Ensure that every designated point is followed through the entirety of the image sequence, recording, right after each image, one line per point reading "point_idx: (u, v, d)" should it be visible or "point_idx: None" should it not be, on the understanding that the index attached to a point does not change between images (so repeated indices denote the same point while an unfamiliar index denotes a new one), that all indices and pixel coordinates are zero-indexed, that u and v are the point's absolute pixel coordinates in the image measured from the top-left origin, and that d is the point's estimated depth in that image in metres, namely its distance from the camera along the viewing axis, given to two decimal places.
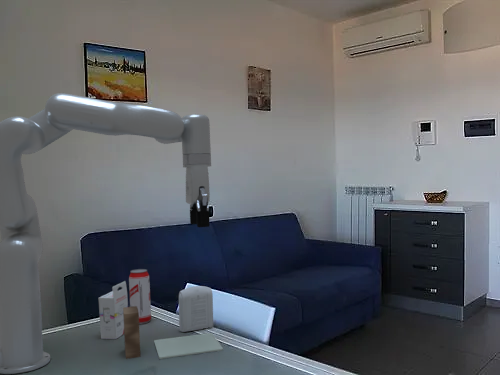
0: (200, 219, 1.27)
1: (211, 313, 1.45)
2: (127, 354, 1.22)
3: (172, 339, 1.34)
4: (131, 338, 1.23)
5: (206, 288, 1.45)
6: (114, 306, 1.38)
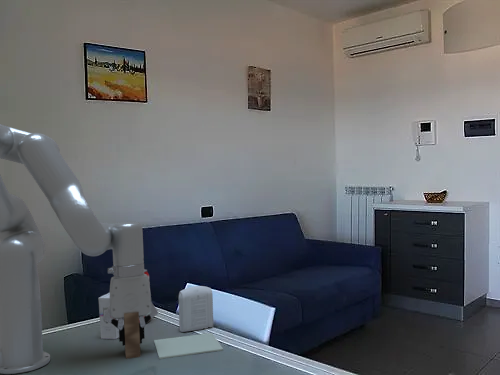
0: (142, 334, 1.26)
1: (211, 313, 1.45)
2: (127, 354, 1.22)
3: (172, 339, 1.34)
4: (131, 338, 1.23)
5: (206, 288, 1.45)
6: None
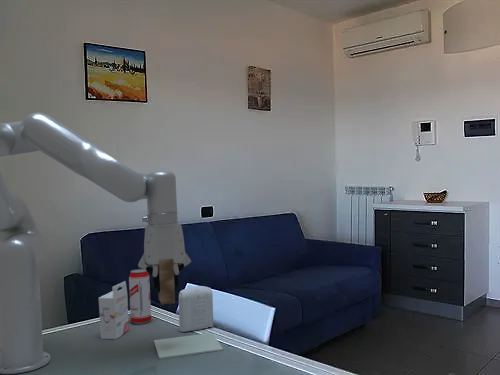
0: (176, 281, 1.28)
1: (211, 313, 1.45)
2: (162, 300, 1.25)
3: (172, 339, 1.34)
4: (166, 284, 1.25)
5: (206, 288, 1.45)
6: (114, 306, 1.38)
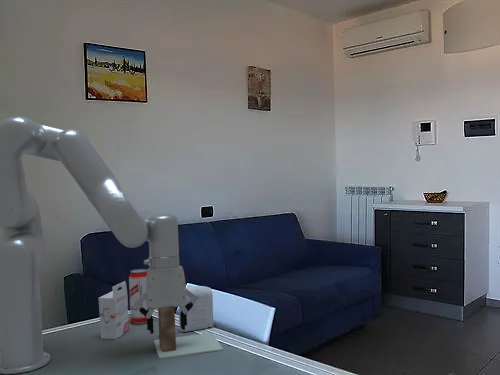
0: (185, 321, 1.29)
1: (211, 313, 1.45)
2: (163, 347, 1.25)
3: None
4: (167, 332, 1.25)
5: (206, 288, 1.45)
6: (114, 306, 1.38)
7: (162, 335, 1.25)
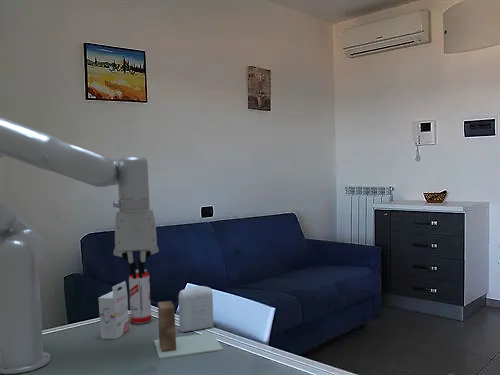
0: (142, 269, 1.26)
1: (211, 313, 1.45)
2: (163, 347, 1.25)
3: None
4: (167, 332, 1.25)
5: (206, 288, 1.45)
6: (114, 306, 1.38)
7: (162, 335, 1.25)
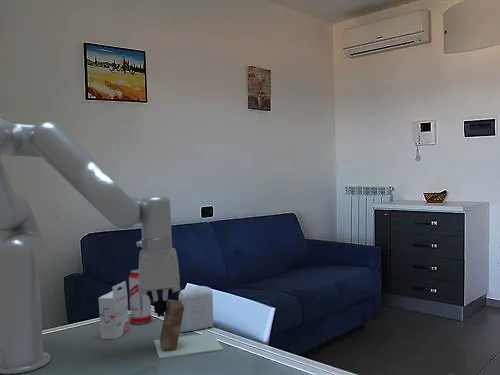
0: (164, 307, 1.27)
1: (211, 313, 1.45)
2: (164, 345, 1.25)
3: None
4: (172, 330, 1.25)
5: (206, 288, 1.45)
6: (114, 306, 1.38)
7: (166, 332, 1.25)
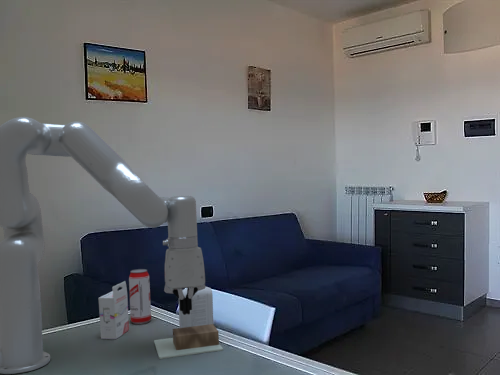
0: (190, 305, 1.29)
1: (211, 313, 1.45)
2: (179, 337, 1.26)
3: (172, 339, 1.34)
4: (195, 340, 1.27)
5: (206, 288, 1.45)
6: (114, 306, 1.38)
7: (192, 335, 1.27)
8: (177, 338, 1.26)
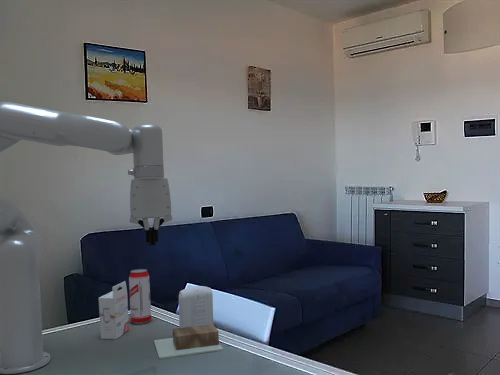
0: (155, 236, 1.27)
1: (211, 313, 1.45)
2: (179, 337, 1.26)
3: (172, 339, 1.34)
4: (195, 340, 1.27)
5: (206, 288, 1.45)
6: (114, 306, 1.38)
7: (192, 335, 1.27)
8: (177, 338, 1.26)
